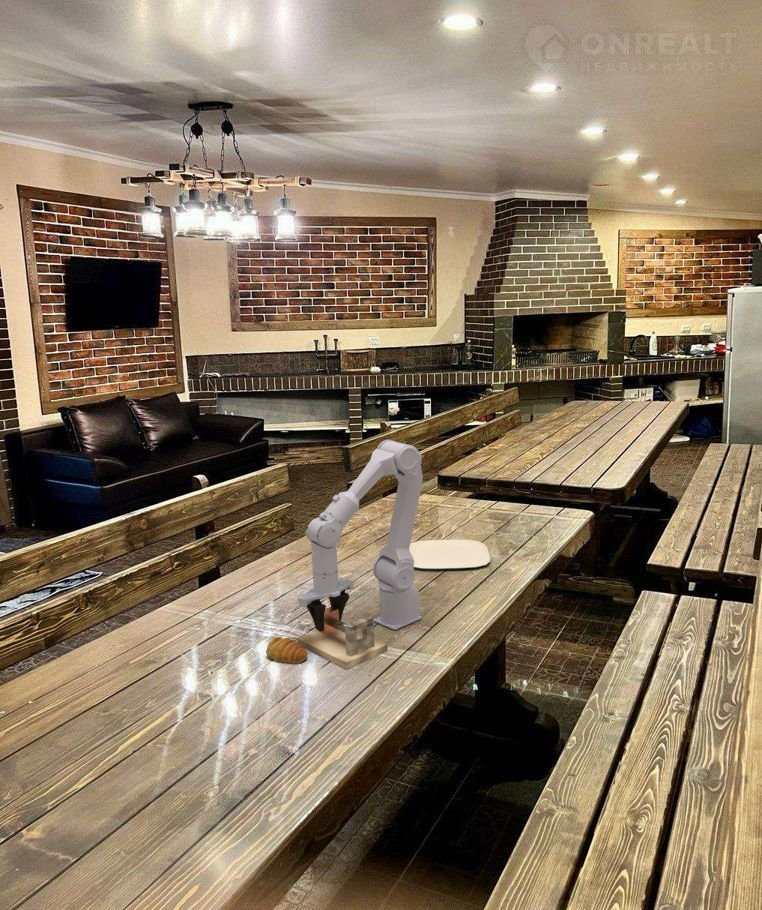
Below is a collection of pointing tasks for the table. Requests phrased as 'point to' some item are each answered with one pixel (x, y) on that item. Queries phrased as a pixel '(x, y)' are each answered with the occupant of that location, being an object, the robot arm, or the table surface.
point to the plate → (449, 554)
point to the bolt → (332, 621)
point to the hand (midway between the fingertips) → (328, 626)
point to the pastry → (286, 650)
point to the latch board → (345, 643)
